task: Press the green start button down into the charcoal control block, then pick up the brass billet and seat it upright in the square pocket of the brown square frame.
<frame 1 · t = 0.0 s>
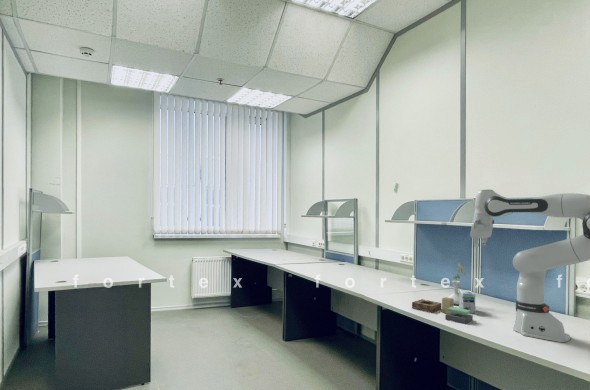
hand: (479, 246, 197), 39 cm above the table, tool pointing down, fingers open, 8 cm apart
brown square frame: (426, 308, 217), on the table
flower in vase: (456, 303, 231), on the table
light bulb box: (466, 310, 215), on the table
billet: (447, 312, 209), on the table
control block: (459, 319, 196), on the table
start button: (459, 312, 196), point 4 cm above the table, slide at 0.0 cm
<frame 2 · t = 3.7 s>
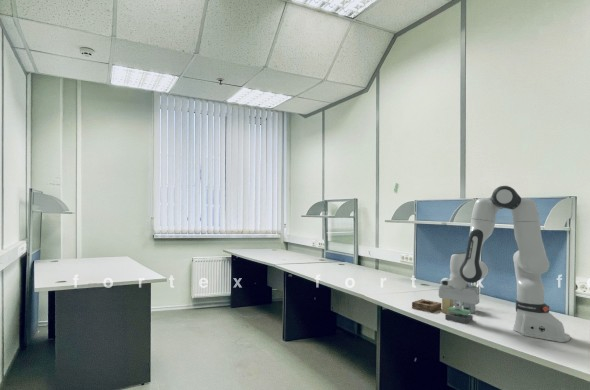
hand: (458, 309, 196), 5 cm above the table, tool pointing down, fingers closed, pressing on start button
start button: (459, 312, 196), point 4 cm above the table, slide at 0.2 cm, touching gripper
everything else where it was.
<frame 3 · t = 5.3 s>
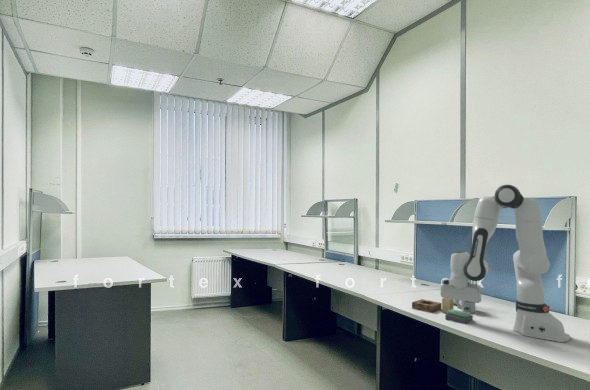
hand: (460, 308, 196), 6 cm above the table, tool pointing down, fingers closed
start button: (459, 314, 196), point 3 cm above the table, slide at 1.4 cm
everything else where it was.
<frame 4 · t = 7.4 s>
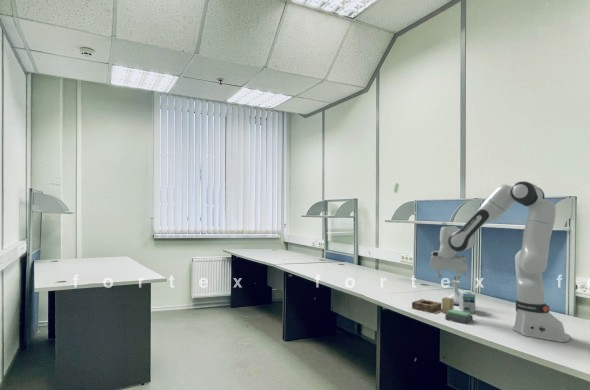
hand: (447, 278, 210), 19 cm above the table, tool pointing down, fingers open, 8 cm apart
nothing on the table moved.
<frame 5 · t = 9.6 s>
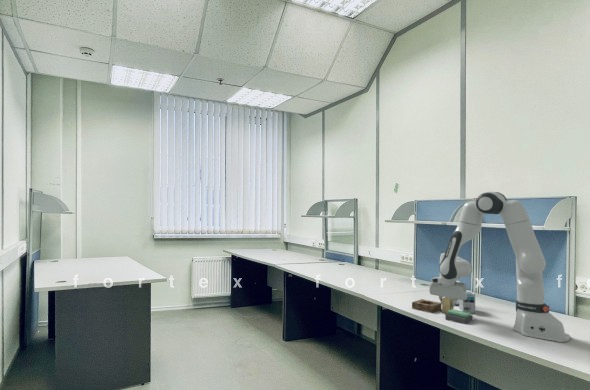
hand: (447, 305, 209), 4 cm above the table, tool pointing down, fingers closed on billet, 4 cm apart
billet: (447, 312, 209), on the table, touching gripper
everything else where it was.
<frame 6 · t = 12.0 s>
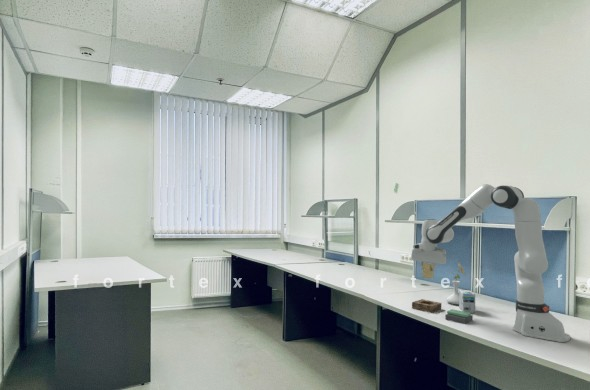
hand: (428, 270, 218), 22 cm above the table, tool pointing down, fingers closed on billet, 4 cm apart
billet: (427, 277, 217), point 18 cm above the table, touching gripper
everything else where it was.
when the fingers open (7 cm above the table, at t = 14.5 s): billet drops 1 cm, resting on brown square frame.
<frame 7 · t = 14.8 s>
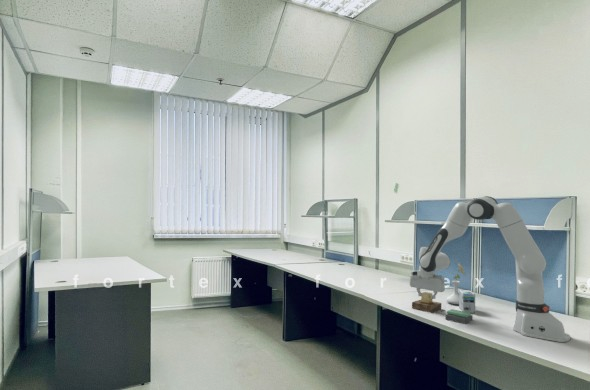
hand: (426, 297, 217), 7 cm above the table, tool pointing down, fingers open, 7 cm apart
billet: (426, 307, 217), point 1 cm above the table, touching brown square frame
everything else where it was.
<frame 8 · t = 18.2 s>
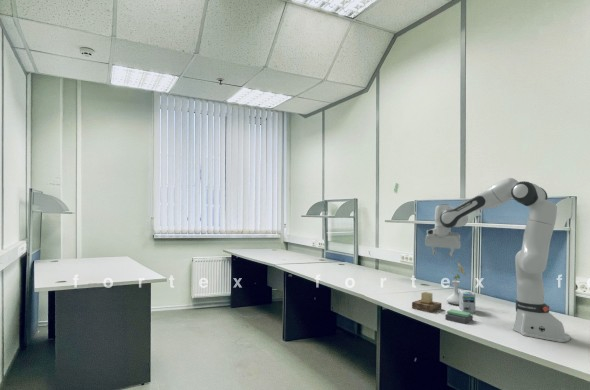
hand: (442, 255, 219), 31 cm above the table, tool pointing down, fingers open, 8 cm apart
nothing on the table moved.
at the end: start button slide at 1.4 cm; billet 0.1 cm off-centre on the brown square frame, point 1.0 cm above the brown square frame's base; billet tilted 0° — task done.
